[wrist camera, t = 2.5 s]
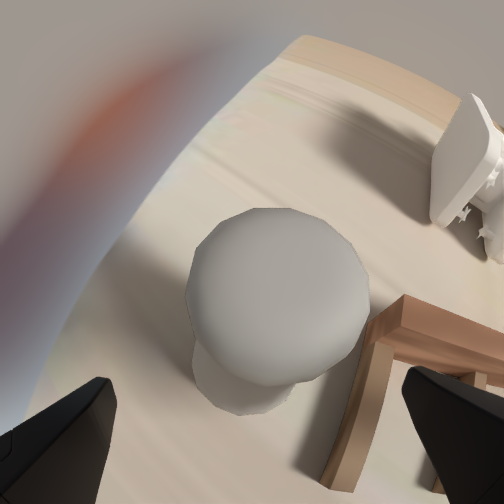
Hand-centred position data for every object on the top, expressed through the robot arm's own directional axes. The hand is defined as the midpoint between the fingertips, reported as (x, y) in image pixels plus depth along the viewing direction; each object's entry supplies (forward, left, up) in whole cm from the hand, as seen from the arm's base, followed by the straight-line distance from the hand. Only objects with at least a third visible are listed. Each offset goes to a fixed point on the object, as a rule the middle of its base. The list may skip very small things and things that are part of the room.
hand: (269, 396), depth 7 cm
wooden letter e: (+9, -14, -10) cm, 19 cm away
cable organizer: (+30, -3, -10) cm, 32 cm away
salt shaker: (+1, +2, -10) cm, 10 cm away
